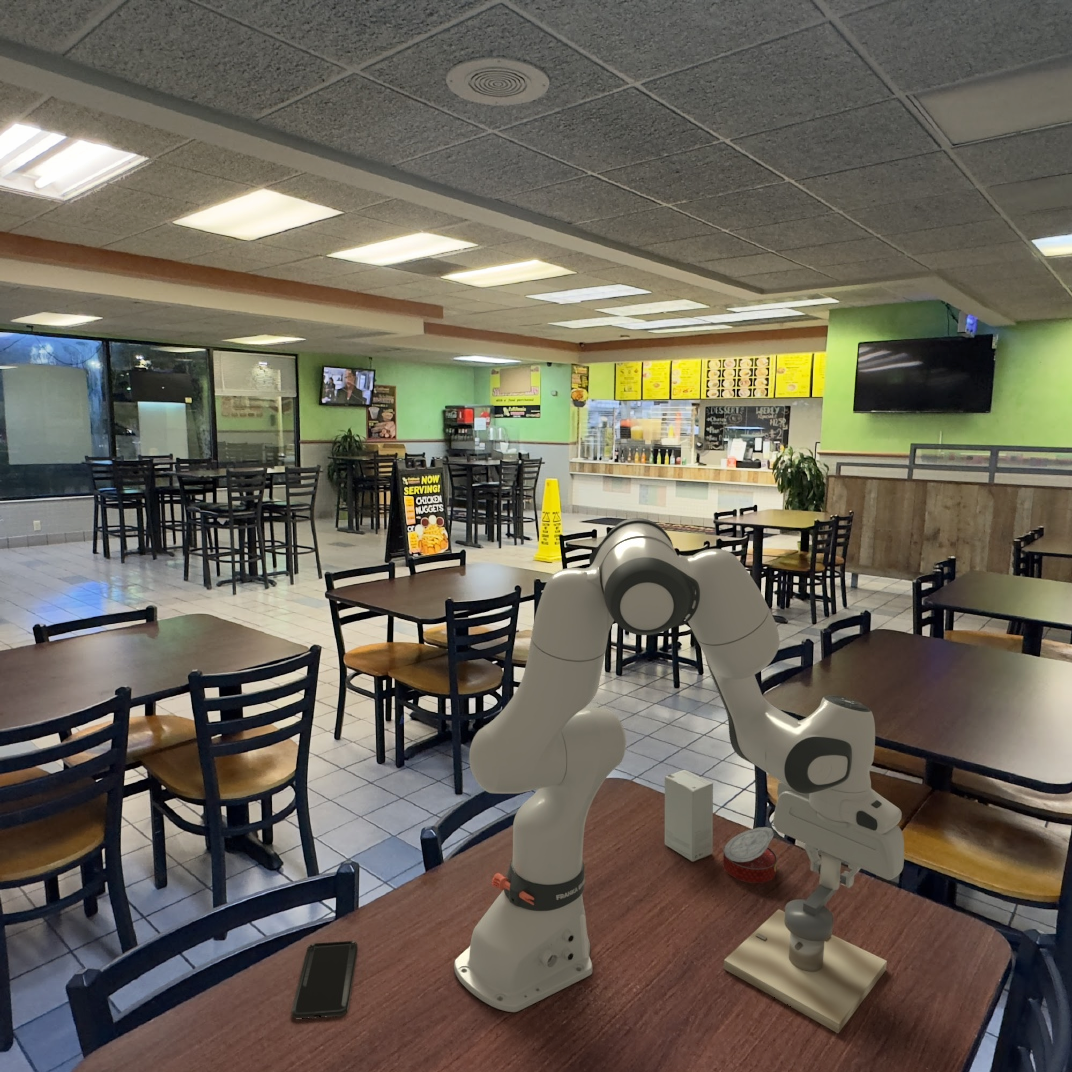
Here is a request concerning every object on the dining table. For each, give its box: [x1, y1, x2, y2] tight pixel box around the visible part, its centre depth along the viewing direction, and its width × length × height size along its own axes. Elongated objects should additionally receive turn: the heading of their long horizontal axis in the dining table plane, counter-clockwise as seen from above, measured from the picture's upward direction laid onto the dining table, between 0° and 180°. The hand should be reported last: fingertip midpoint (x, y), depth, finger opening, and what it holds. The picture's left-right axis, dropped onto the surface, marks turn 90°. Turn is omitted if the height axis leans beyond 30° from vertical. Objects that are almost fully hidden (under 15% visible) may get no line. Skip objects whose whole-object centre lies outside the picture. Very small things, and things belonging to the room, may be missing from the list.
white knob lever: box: [784, 851, 842, 941], centre depth 119 cm, size 7×13×8 cm, turn 138°
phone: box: [291, 940, 358, 1019], centre depth 115 cm, size 8×1×15 cm
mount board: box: [723, 909, 888, 1034], centre depth 118 cm, size 18×18×7 cm
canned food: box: [722, 826, 778, 884], centre depth 145 cm, size 11×10×10 cm
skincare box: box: [664, 769, 714, 862], centre depth 151 cm, size 8×6×15 cm
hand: (831, 877), depth 123 cm, fingers open, 3 cm apart
